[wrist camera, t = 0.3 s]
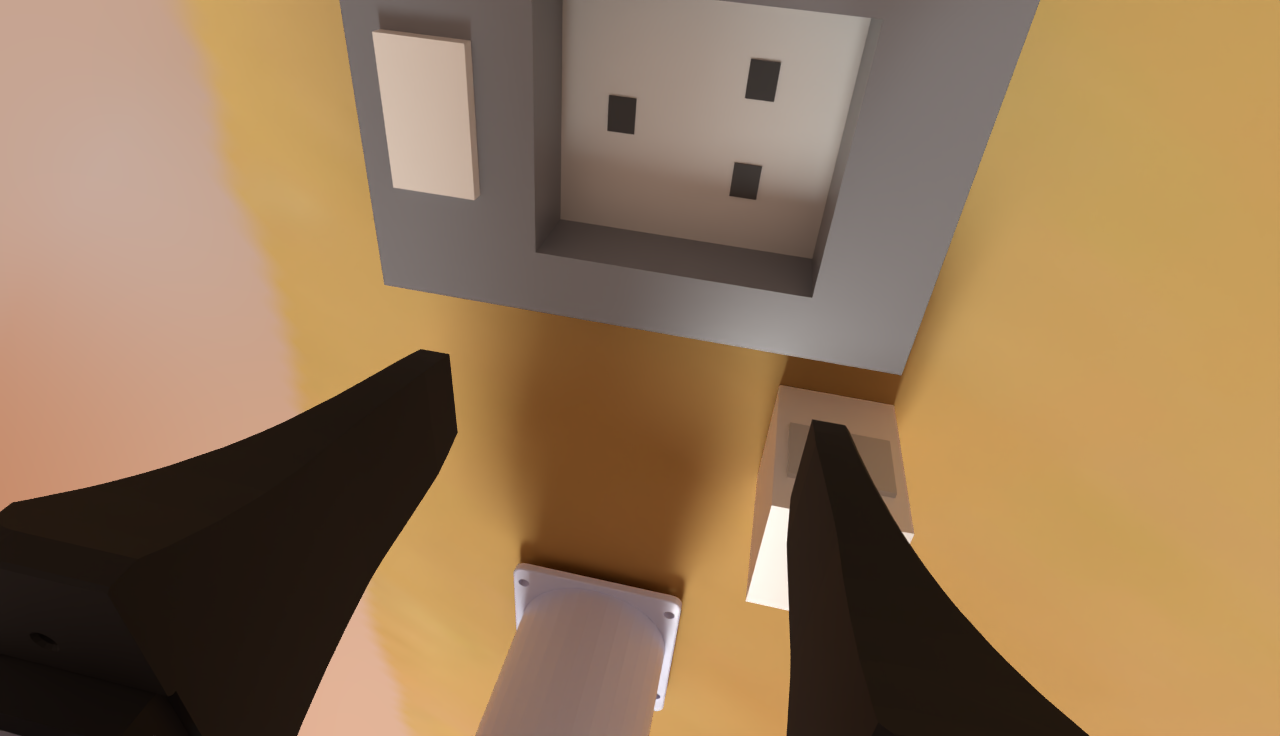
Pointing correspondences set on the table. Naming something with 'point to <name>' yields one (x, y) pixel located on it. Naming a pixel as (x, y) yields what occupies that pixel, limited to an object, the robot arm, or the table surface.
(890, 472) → the plug
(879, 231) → the socket plate
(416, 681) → the table surface
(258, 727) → the robot arm
